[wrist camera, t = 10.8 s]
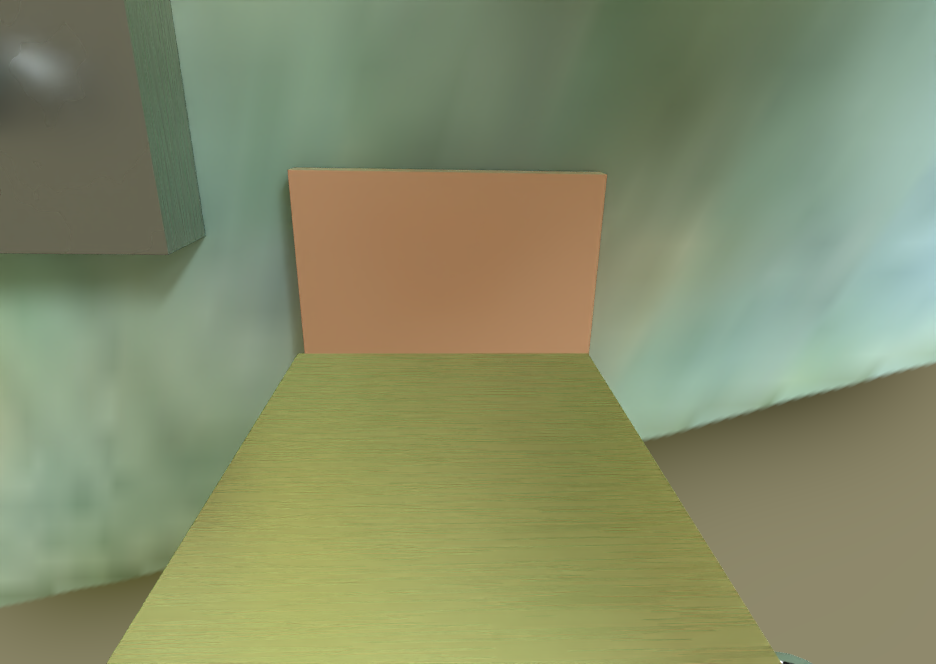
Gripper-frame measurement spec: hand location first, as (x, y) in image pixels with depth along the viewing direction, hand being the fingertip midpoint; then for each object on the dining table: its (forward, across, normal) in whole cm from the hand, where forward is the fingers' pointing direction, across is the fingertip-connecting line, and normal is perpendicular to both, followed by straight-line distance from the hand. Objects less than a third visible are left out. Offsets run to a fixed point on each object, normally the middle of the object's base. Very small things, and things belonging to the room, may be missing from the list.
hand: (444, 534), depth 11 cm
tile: (+12, 0, 0) cm, 12 cm away
